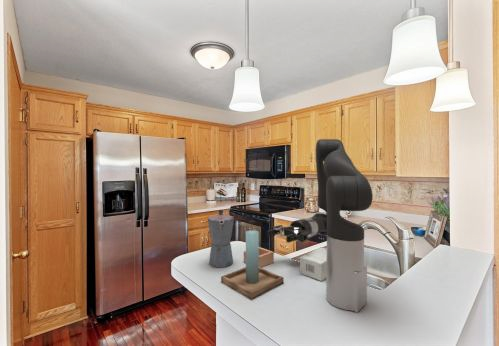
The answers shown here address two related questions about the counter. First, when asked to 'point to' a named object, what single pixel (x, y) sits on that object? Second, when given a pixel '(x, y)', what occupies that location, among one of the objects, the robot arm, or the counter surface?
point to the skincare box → (314, 264)
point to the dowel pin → (252, 256)
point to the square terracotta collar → (263, 257)
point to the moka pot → (220, 239)
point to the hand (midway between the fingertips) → (277, 236)
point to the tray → (249, 290)
